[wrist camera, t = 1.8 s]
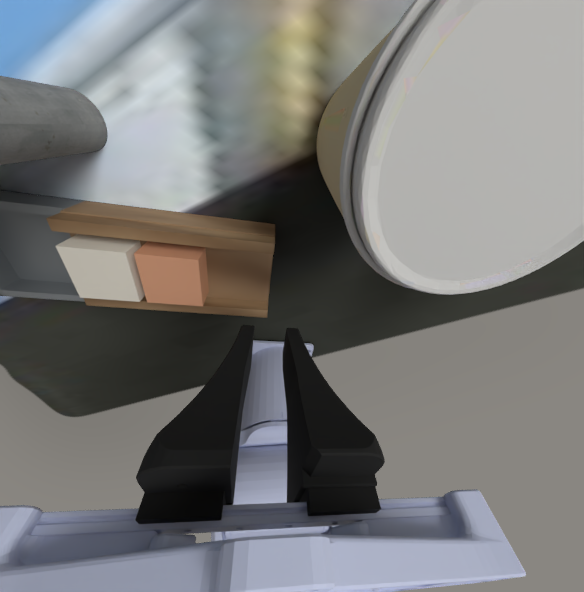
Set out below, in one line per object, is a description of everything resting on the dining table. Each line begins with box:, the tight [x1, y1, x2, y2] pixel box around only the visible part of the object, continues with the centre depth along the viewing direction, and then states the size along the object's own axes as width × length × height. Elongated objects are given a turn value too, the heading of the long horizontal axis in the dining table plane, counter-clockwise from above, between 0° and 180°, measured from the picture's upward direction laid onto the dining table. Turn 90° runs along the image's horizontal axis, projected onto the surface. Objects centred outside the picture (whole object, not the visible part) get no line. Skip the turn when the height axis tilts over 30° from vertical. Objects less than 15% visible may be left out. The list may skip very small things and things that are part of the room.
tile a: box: [134, 241, 209, 306], centre depth 17 cm, size 4×4×2 cm
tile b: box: [56, 234, 145, 302], centre depth 17 cm, size 4×4×2 cm
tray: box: [0, 190, 85, 302], centre depth 18 cm, size 8×8×2 cm
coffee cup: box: [317, 0, 584, 295], centre depth 11 cm, size 9×9×12 cm
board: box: [46, 201, 275, 318], centre depth 19 cm, size 7×14×4 cm, turn 82°
